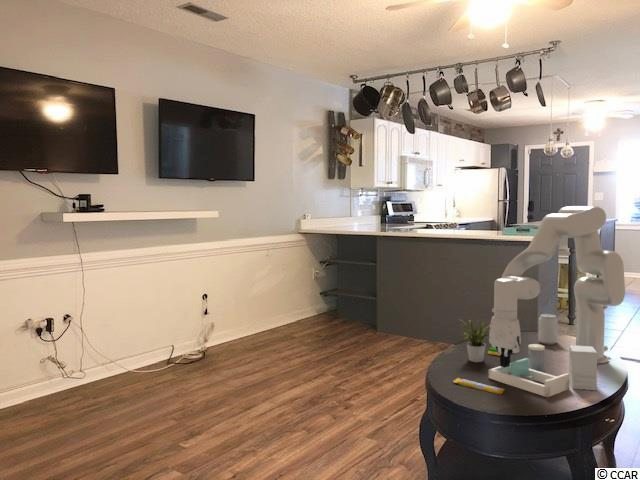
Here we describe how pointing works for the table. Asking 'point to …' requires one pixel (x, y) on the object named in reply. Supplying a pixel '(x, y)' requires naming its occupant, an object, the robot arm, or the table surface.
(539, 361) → the jar
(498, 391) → the candy bar
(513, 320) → the robot arm
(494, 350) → the dish sponge
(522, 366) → the pusher
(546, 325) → the can
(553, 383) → the frame
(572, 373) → the supplement box
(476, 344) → the house plant
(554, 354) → the table surface
